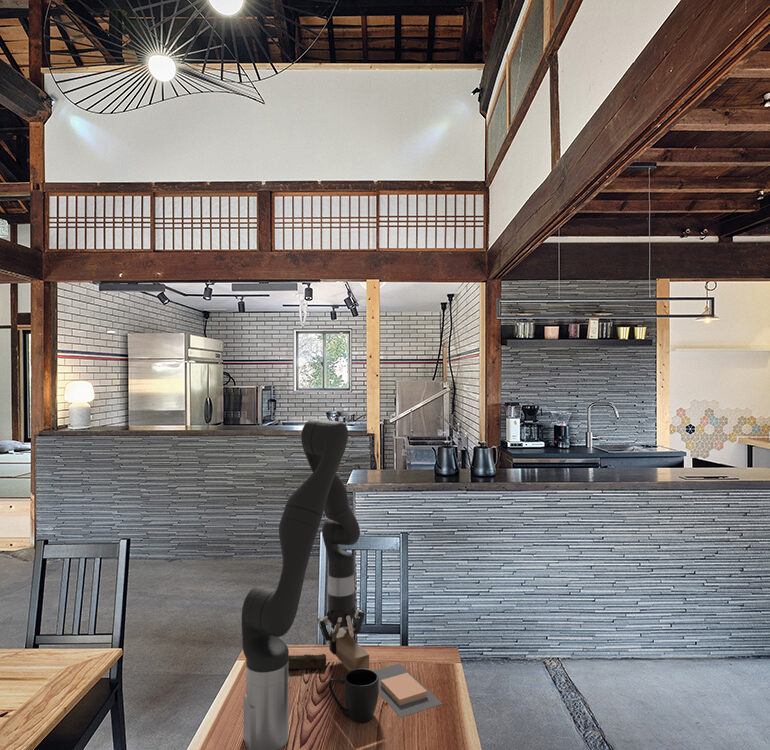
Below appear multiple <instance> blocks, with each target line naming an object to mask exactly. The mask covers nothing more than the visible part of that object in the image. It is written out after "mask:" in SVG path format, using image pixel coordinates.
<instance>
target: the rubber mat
mask: <svg viewBox="0 0 770 750" xmlns="http://www.w3.org/2000/svg"><path fill="white" fill-rule="evenodd" d="M373 671H375V672H376V673H377V674H378V676H379V693H378V696H380V697H381V698H382V699H383V700H384V701H385V702H386V703H387V705H388V706H389V707H390V708H391V709H392V710H393V711H394V712H395V713H396V715H397V716H399V717H400V718H403V717H406V716H409V715H412V714H416V713H418V712H422V711H426V710H428V709H431V708H434V707H437V706H440V705H443V704H444V703H443V702H442V701H440V700H439V698H438V697H436V696H435V695H434V693H432V692H431V691H430V690H429V689H428V688H426V687H425V685H424V684H422V683H421V682H420V681H419V680H418V679H417V678H416V677H415V676H414V675H412V673H410V672H409V671H408V670H407V669H406V668H405V667H404V666H403V665H402V664H401V663H396V664H392V665H389V666H385V667H382V668H378V669H373ZM404 673H408V674H409V675H410V676H412V677H413V678H414V679H415V680H416V681H417V682H418V683H419V684H420V685H421V686H422V687H423V688H424V689H426V690H427V698H424V699H421V700H418V701H415V702H412V703H408V704H405V705H402V706H399V705H398V704H397V703H396V702H395V701H394V700H393V699H392V698H391V697H390V696H389V694H388V693H387V692H386V691H385V690H384V689H383V688H382V687H381V680H383V679H387V678H390V677H394V676H397V675H401V674H404Z"/></svg>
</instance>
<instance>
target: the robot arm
mask: <svg viewBox="0 0 770 750" xmlns="http://www.w3.org/2000/svg"><path fill="white" fill-rule="evenodd" d="M300 435H301V437H300V439H301V441H300V442H301V447H302V449H303V452H304V454H305V458H306V460H307V463H308V464H309V466H310V469H311V472H312V474H311V475H310V476H309V477H308V478H307V479H306V480H304V482H303V483H302V484H301V485H299V486H298V487H297V488H296V490H295V491H293V493H292V494H291V495H290V496H289V497H288V499H287V501H286V503H285V505H284V509H283V513H282V516H281V518H280V522H279V525H278V536H279V538H278V539H279V544H280V550H281V555H282V556H281V557H282V567H281V568H282V569H281V573H280V578H279V581H278V584H277V587H276V588H273V587H270V586H264V585H258V586H255V587H253V588H252V589H251V590H250V591H249V592H248V593H247V595H245V598H244V600H243V603H242V608H241V636H242V639H241V640H242V651H243V655H244V657H245V660H246V661H245V663H246V664H245V665H246V668H245V669H246V671H245V676H246V680H245V681H246V682H245V683H246V685H245V686H246V687H245V690H246V691H245V695H244V696H243V735H242V736H243V741H244V743H245V747H246V749H247V750H281V749H282V748H284V747H285V745H286V744H287V742H288V740H289V727H290V726H289V684H290V681H289V673H290V672H289V670H290V669H289V655H290V654H289V647H288V645H287V644H286V643H285V642H284V641H283V640H282V639H281V637H283V636H284V635H286V634H287V633H288V632H289V630H290V629H291V628H292V627H293V626H292V625H293V624H294V622H295V619H296V617H297V612H298V609H299V606H300V605H299V604H300V599H301V595H302V591H303V585H304V581H305V577H306V576H305V575H306V571H307V567H308V566H309V565H308V564H309V560H310V557H311V554H312V550H313V547H314V544H315V540H316V537H317V534H318V531H319V528H320V526H321V521H322V519H323V516H325V517H326V518H327V519H326V520H325V521H324V523H323V524H322V530H321V535H322V540H323V543H324V547H325V550H326V554H327V559H328V578H327V588H326V589H327V590H326V591H327V612H326V616H323V617H319V618H317V621H316V622H317V623H318V626H319V630H320V632H321V634H322V638H324V640H325V641H327V642H328V641H329V642H328V643H329V646H328V647H329V651H330V653H332V655H335V654H336V637H337V633H338V632H339V628H345V631H346V632H347V633H348V634H349V635H350V636H351V637H352V638H353V639H354V636H355V635H359V634H360V631H361V627H362V624H363V622H364V618H365V613H364V611H362V610H361V609H356V608H355V603H356V602H355V577H354V576H355V575H354V556H353V554H352V553H351V552H349V551H347V550H344V549H342V548H340V546H339V545H343V546H353V545H355V544H356V543H357V542H358V541H359V539H360V537H361V536H360V535H361V529H360V524H359V522H358V520H357V518H356V516H355V514H354V513H353V510H352V509H351V507H350V503H349V499H348V492H347V489H346V487H345V484H344V482H343V480H342V479H341V478H340V477H339V475H338V474H337V472H338V470H339V466H340V464H341V461H342V459H343V456H344V454H345V452H346V448H347V445H348V440H349V429H348V426H347V424H345V423H344V422H340V421H336V420H328V419H327V420H324V419H315V418H313V419H309V420H307V421H306V422H305V424H304V426H303V427H302V430H301V434H300ZM354 617H355V618H354ZM353 620H354V621H353ZM328 621H329V623H330V625H329V631H330V633H329V631H328V629H327V626H328ZM352 621H353V623H352ZM335 656H336V655H335Z"/></svg>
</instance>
